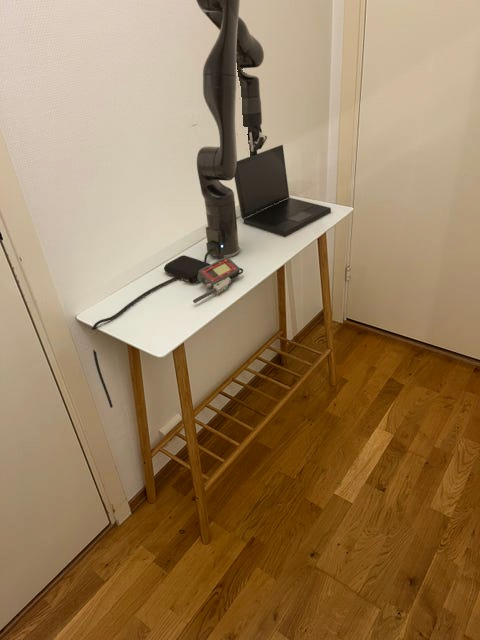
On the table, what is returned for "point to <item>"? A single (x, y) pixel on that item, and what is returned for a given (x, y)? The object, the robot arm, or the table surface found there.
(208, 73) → the robot arm
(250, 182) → the laptop screen
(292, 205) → the laptop
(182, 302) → the table surface
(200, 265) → the carrying case
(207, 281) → the grey red handheld meter
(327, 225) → the table surface
